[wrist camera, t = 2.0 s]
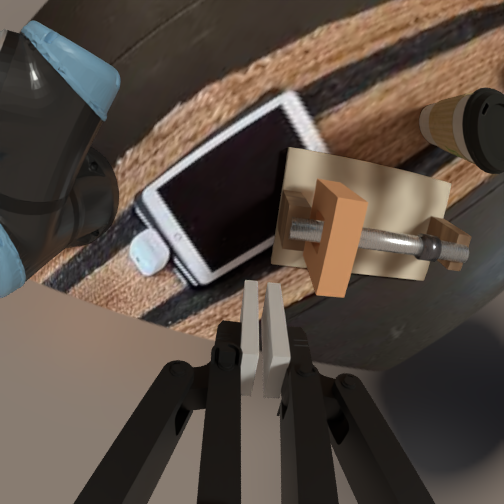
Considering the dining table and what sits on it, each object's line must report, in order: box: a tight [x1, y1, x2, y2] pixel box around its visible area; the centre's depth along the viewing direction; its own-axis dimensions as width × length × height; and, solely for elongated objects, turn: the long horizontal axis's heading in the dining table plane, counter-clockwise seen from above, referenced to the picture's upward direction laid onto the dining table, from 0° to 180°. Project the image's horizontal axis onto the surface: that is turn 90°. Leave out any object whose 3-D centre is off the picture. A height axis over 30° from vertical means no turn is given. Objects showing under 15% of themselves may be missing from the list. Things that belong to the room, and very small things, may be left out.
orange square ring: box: [303, 179, 368, 297], centre depth 33 cm, size 3×10×10 cm, turn 173°
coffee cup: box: [419, 88, 504, 174], centre depth 29 cm, size 10×10×15 cm
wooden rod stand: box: [271, 147, 471, 281], centre depth 38 cm, size 25×16×9 cm, turn 83°
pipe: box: [289, 217, 469, 263], centre depth 34 cm, size 24×3×3 cm, turn 83°
